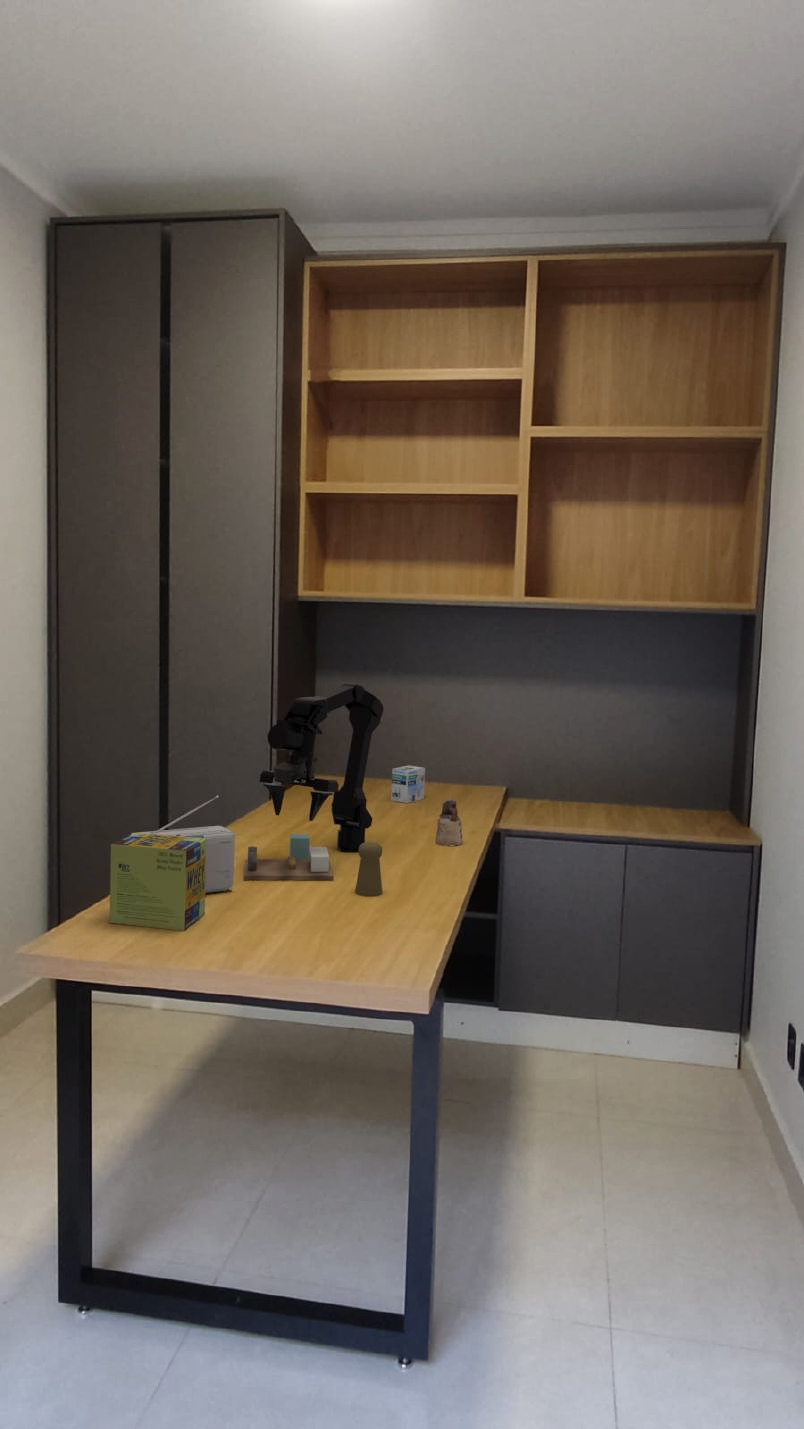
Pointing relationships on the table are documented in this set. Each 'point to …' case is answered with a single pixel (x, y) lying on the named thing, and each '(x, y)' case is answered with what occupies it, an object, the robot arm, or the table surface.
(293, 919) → the table surface
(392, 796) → the light bulb box
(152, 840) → the protein box
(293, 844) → the block
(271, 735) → the robot arm
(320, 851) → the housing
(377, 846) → the olive pepper mill
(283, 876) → the board
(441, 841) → the figurine
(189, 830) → the stereo radio cassette player
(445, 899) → the table surface
